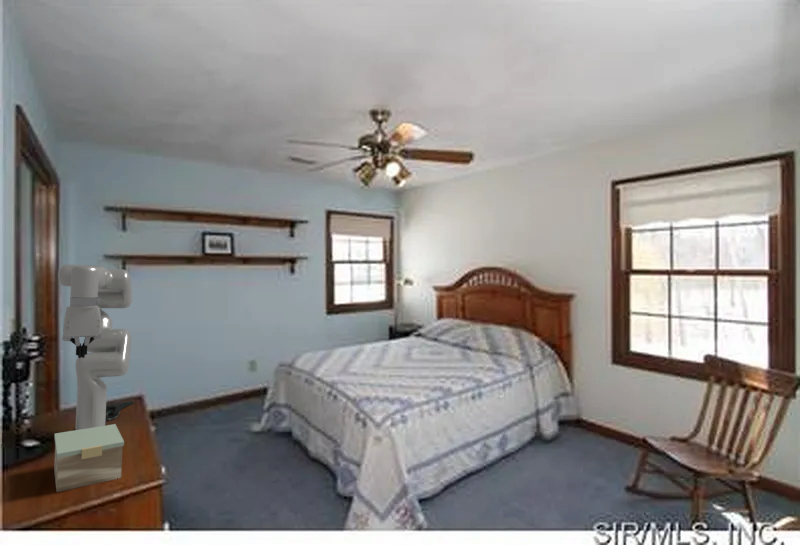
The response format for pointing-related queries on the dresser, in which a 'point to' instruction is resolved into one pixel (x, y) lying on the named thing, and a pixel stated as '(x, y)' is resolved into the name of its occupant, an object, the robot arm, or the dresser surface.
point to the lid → (87, 441)
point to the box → (87, 469)
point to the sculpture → (115, 409)
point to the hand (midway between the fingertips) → (81, 357)
